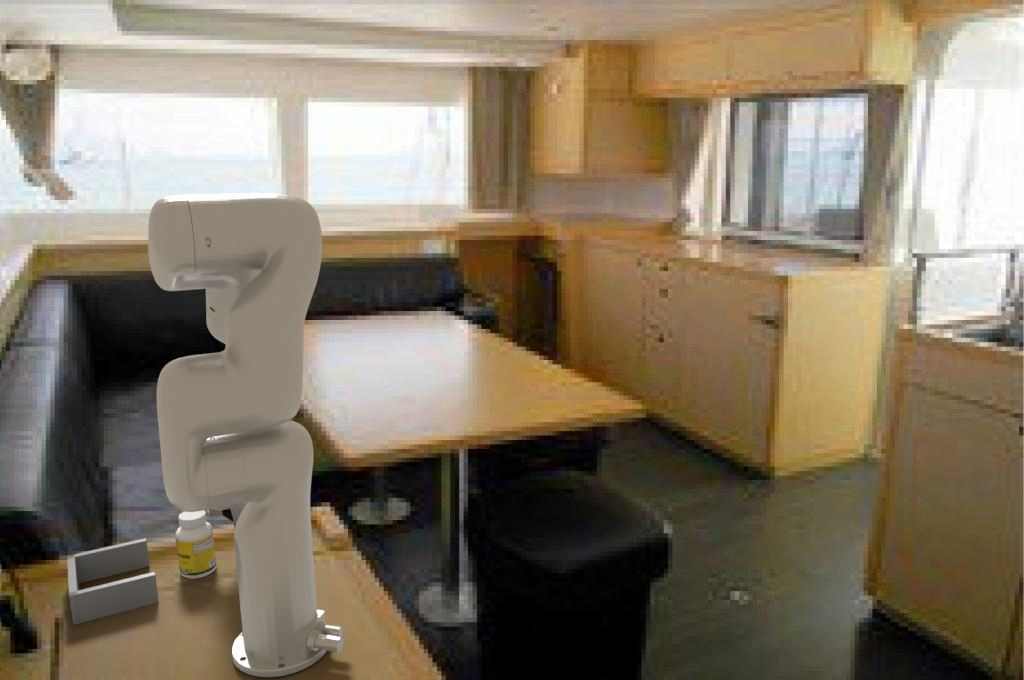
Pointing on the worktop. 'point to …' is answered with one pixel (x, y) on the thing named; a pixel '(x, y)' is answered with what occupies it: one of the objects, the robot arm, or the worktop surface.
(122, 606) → the box
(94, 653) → the worktop surface
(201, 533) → the supplement bottle
